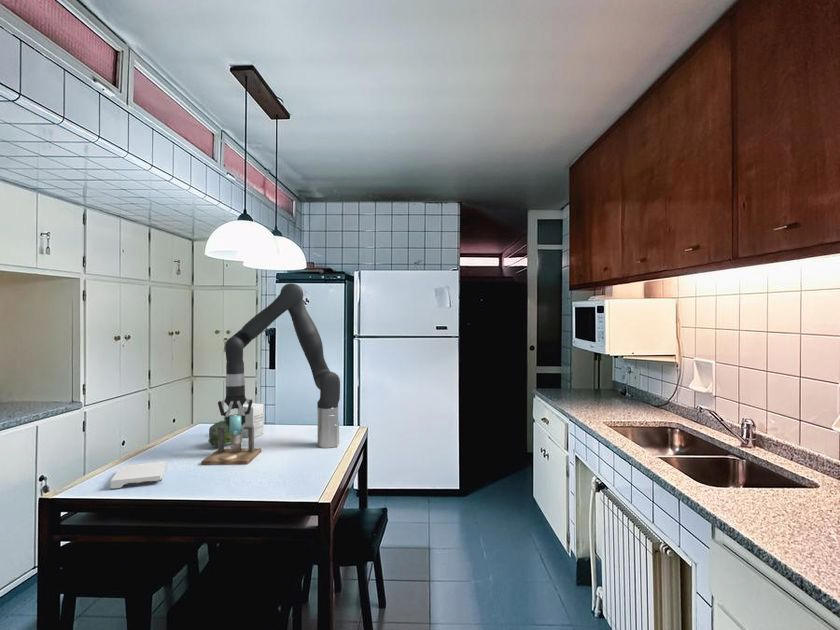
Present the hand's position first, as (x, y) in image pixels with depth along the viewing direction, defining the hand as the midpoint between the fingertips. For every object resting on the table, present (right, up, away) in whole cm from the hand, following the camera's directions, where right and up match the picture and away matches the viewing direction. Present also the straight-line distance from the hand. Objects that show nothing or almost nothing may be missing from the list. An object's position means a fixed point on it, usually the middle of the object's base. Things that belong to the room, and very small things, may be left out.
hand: (235, 424), depth 205 cm
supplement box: (-6, -13, +34) cm, 37 cm away
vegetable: (-11, -13, +15) cm, 23 cm away
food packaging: (-24, -14, -28) cm, 39 cm away
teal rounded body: (0, -3, 0) cm, 3 cm away
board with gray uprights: (0, -13, -4) cm, 13 cm away
